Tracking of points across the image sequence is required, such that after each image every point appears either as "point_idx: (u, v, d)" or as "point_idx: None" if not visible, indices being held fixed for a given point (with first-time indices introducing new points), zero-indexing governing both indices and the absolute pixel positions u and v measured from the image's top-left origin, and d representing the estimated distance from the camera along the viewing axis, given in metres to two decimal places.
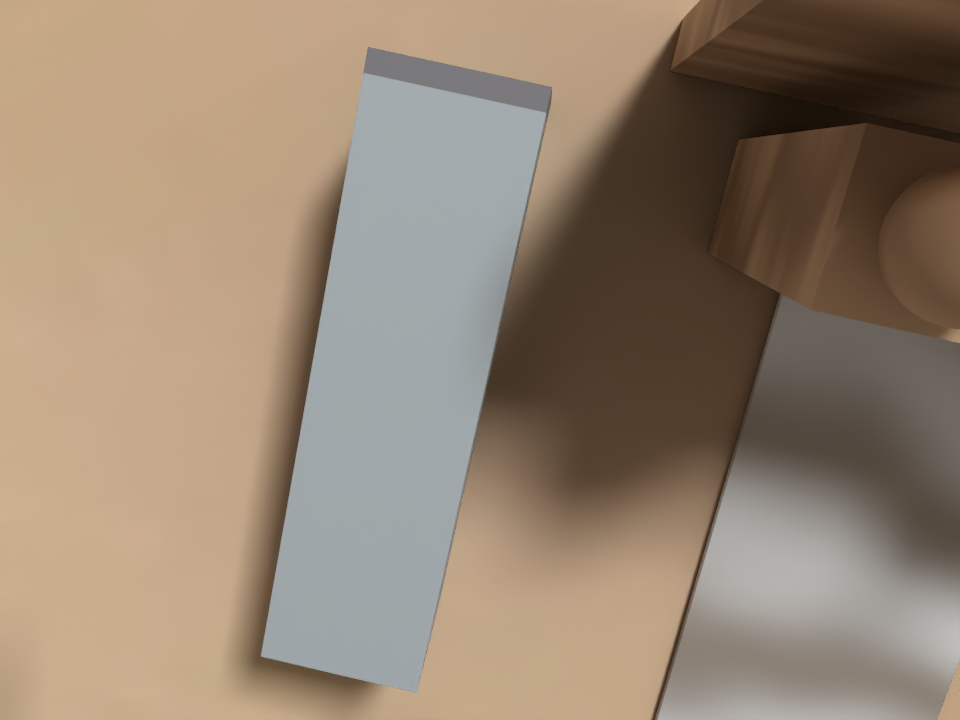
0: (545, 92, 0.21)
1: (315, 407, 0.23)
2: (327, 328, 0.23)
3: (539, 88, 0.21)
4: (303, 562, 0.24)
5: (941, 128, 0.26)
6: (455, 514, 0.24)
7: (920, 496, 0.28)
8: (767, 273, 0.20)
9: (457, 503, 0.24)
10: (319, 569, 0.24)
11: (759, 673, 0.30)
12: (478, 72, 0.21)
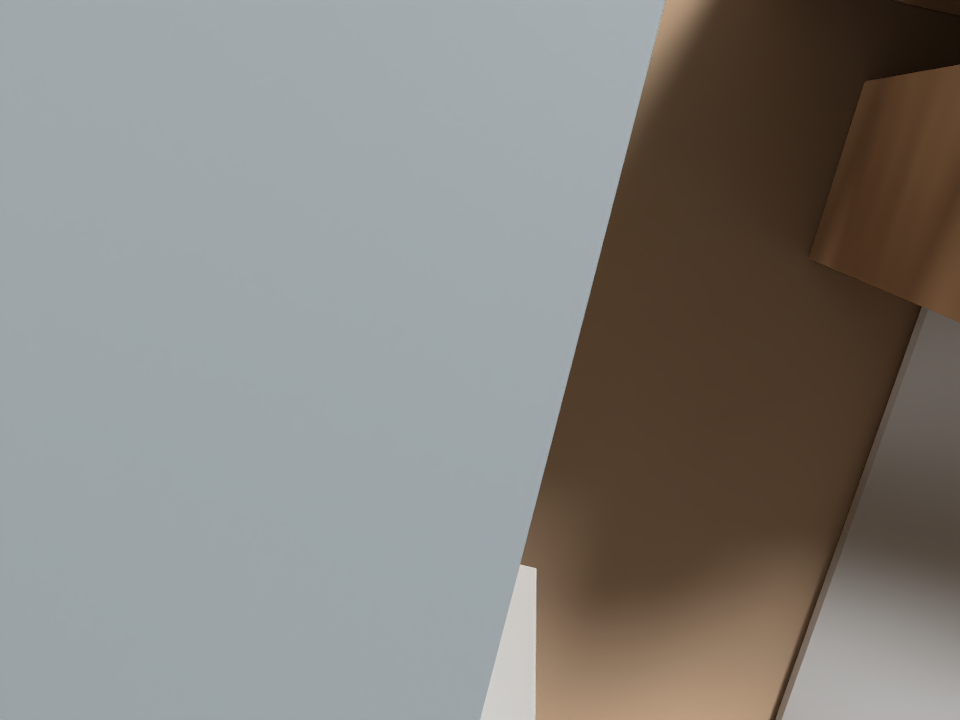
0: None
1: None
2: None
3: None
4: None
5: None
6: None
7: None
8: None
9: None
10: None
11: None
12: None
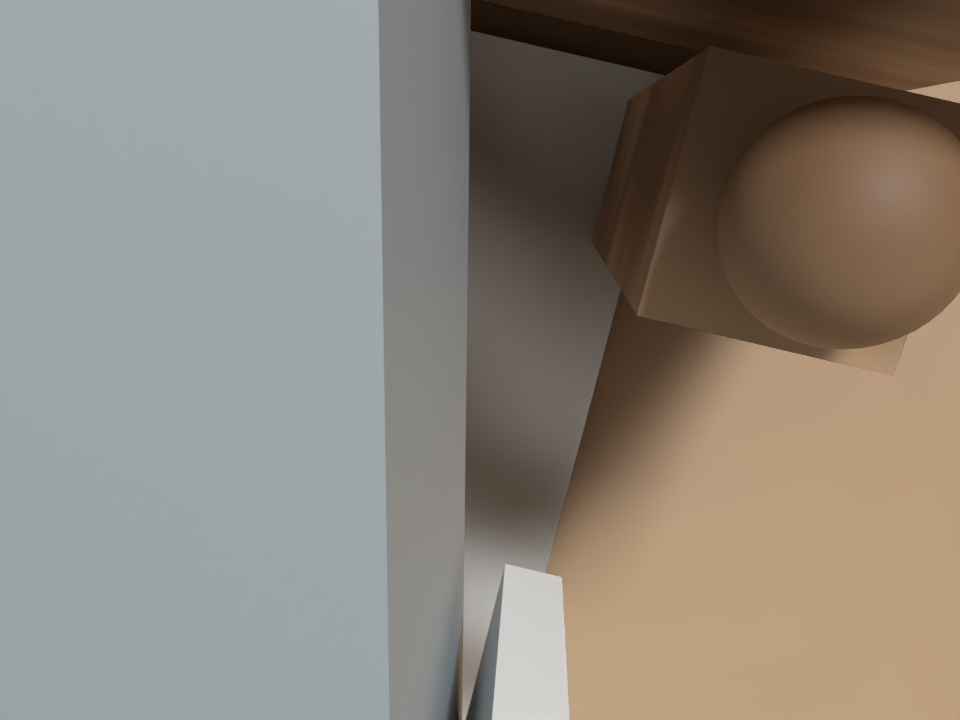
0: None
1: None
2: None
3: None
4: None
5: None
6: None
7: None
8: None
9: None
10: None
11: None
12: None
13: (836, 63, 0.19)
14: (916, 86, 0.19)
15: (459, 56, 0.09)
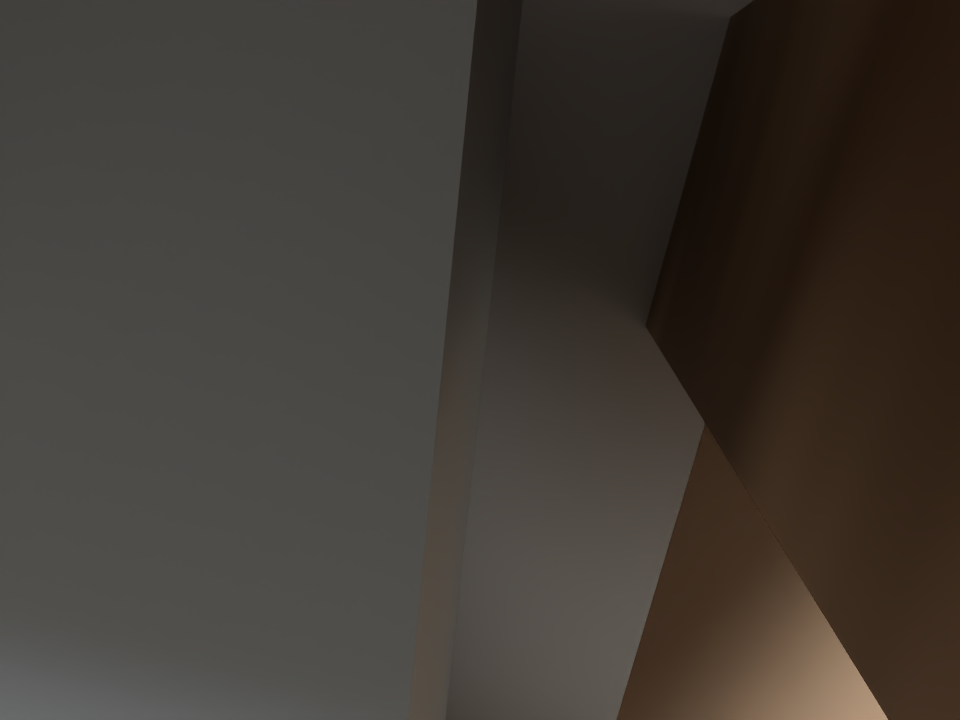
0: None
1: None
2: None
3: None
4: None
5: None
6: None
7: None
8: None
9: None
10: None
11: None
12: None
13: None
14: None
15: (514, 30, 0.08)
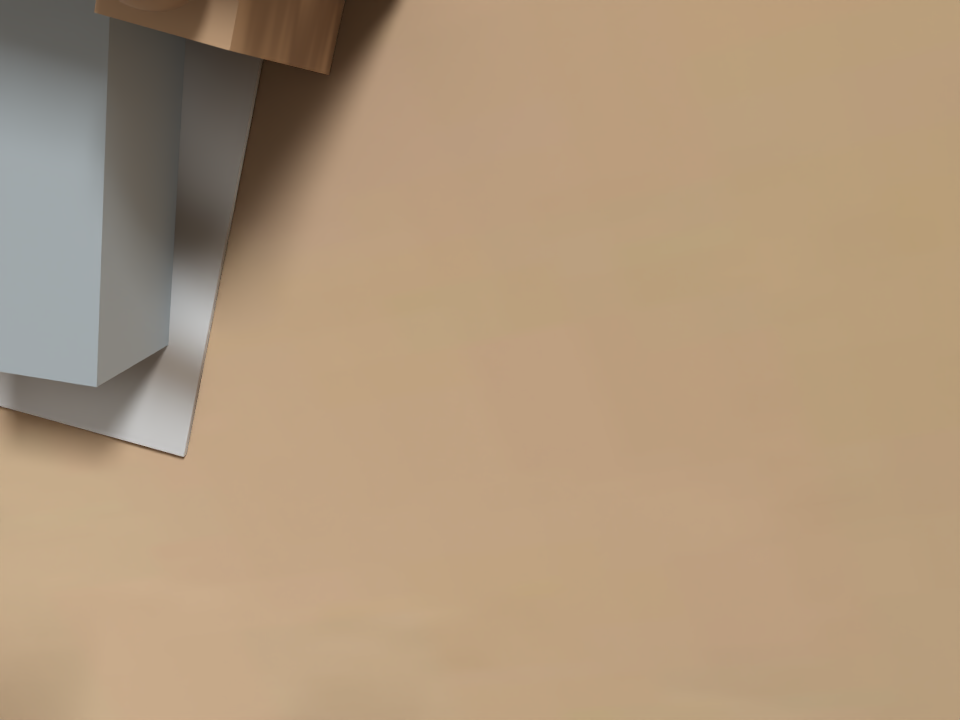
0: None
1: None
2: None
3: None
4: None
5: None
6: (102, 225, 0.28)
7: None
8: None
9: (101, 214, 0.28)
10: (0, 284, 0.29)
11: None
12: None
13: None
14: None
15: None
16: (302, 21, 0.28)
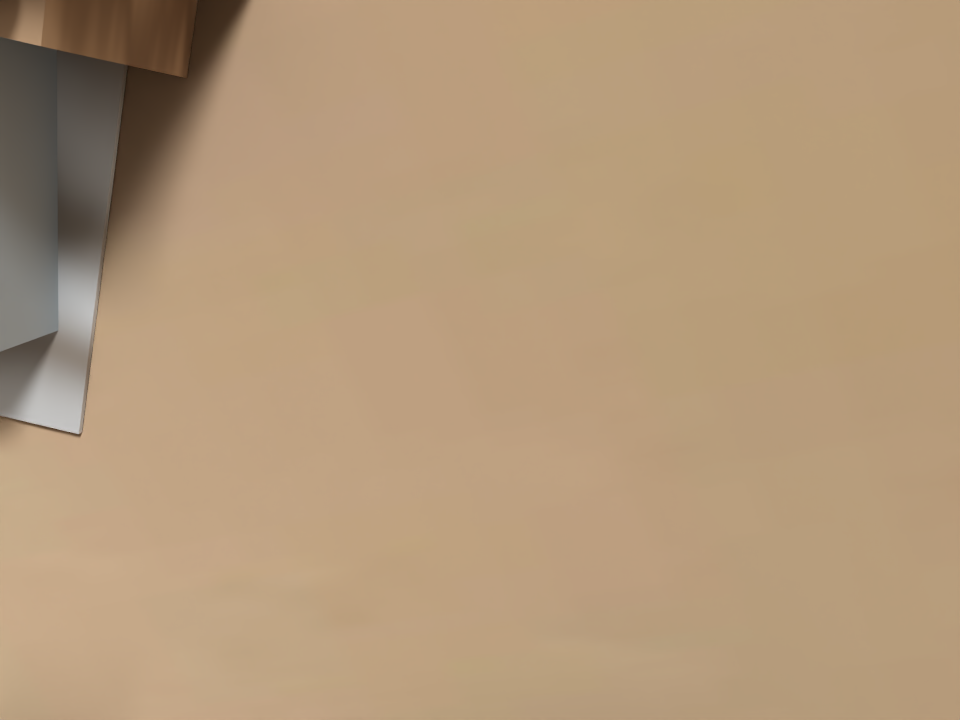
0: None
1: None
2: None
3: None
4: None
5: None
6: None
7: None
8: None
9: None
10: None
11: None
12: None
13: None
14: None
15: None
16: (138, 26, 0.31)
